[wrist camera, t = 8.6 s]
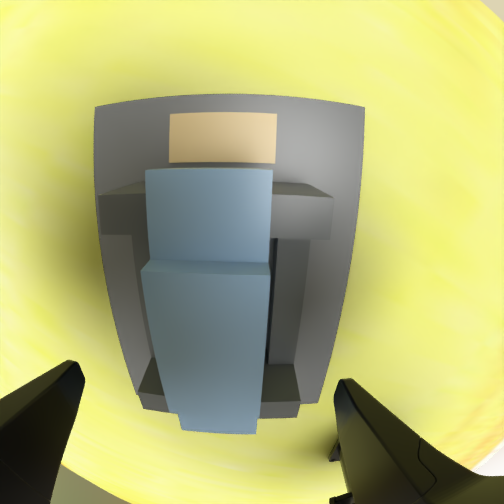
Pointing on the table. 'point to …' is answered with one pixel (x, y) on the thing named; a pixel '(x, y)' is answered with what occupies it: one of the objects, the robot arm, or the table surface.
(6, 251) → the table surface
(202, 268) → the block
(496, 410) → the table surface
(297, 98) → the chassis plate
